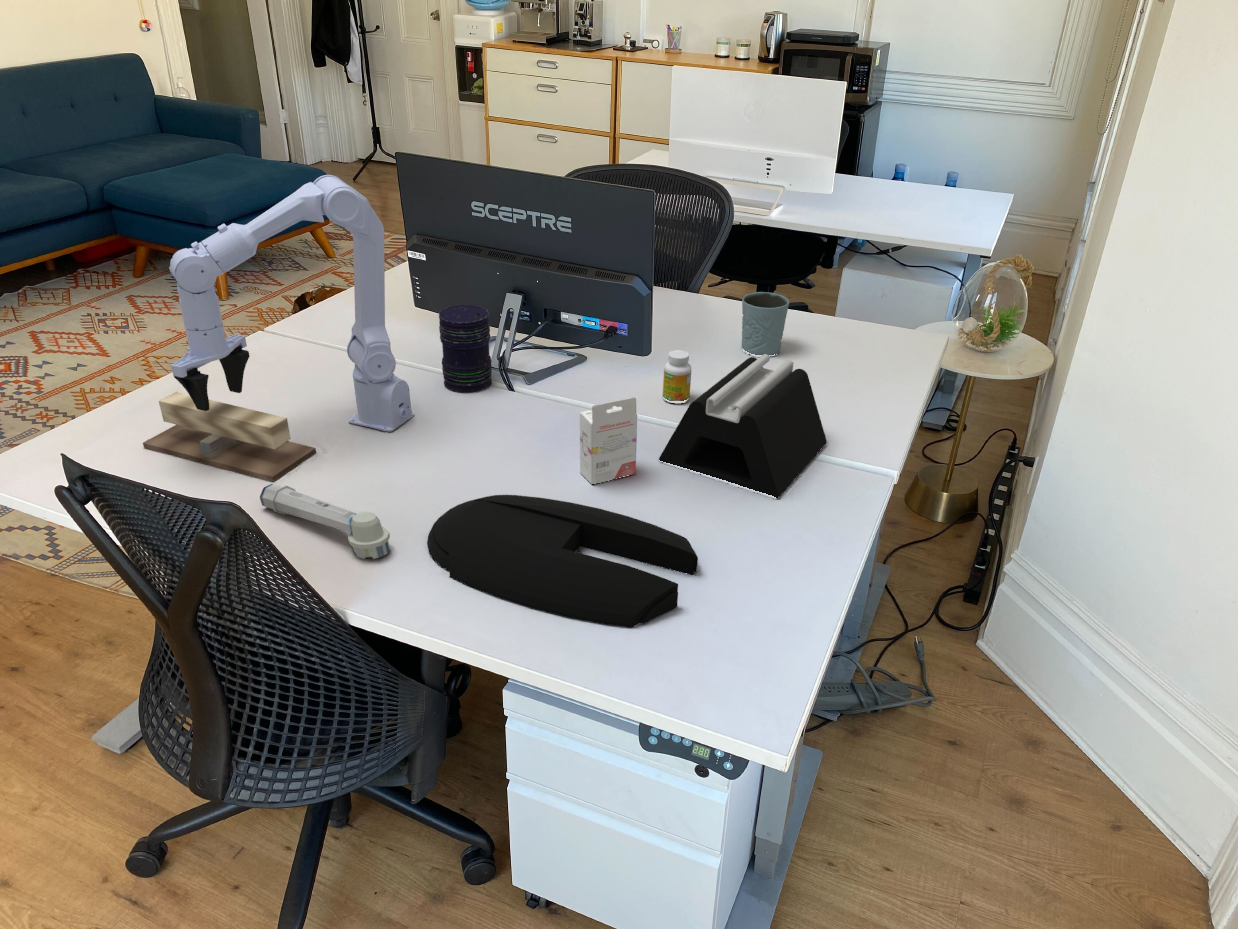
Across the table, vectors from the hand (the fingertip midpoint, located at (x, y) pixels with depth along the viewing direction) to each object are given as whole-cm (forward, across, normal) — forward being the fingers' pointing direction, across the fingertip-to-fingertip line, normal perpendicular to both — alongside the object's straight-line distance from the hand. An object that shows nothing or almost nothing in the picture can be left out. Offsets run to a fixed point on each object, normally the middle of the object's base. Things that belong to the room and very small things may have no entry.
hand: (219, 400), depth 155 cm
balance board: (+10, 0, 0) cm, 10 cm away
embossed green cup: (+10, -85, +73) cm, 112 cm away
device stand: (+10, -37, +82) cm, 91 cm away
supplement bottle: (+10, -53, +64) cm, 84 cm away
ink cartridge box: (+10, -20, +63) cm, 67 cm away
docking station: (+10, +5, +65) cm, 66 cm away
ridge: (+10, 0, 0) cm, 10 cm away
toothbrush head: (+10, +13, +30) cm, 35 cm away
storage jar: (+10, -42, +23) cm, 49 cm away
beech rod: (+6, 0, 0) cm, 6 cm away
